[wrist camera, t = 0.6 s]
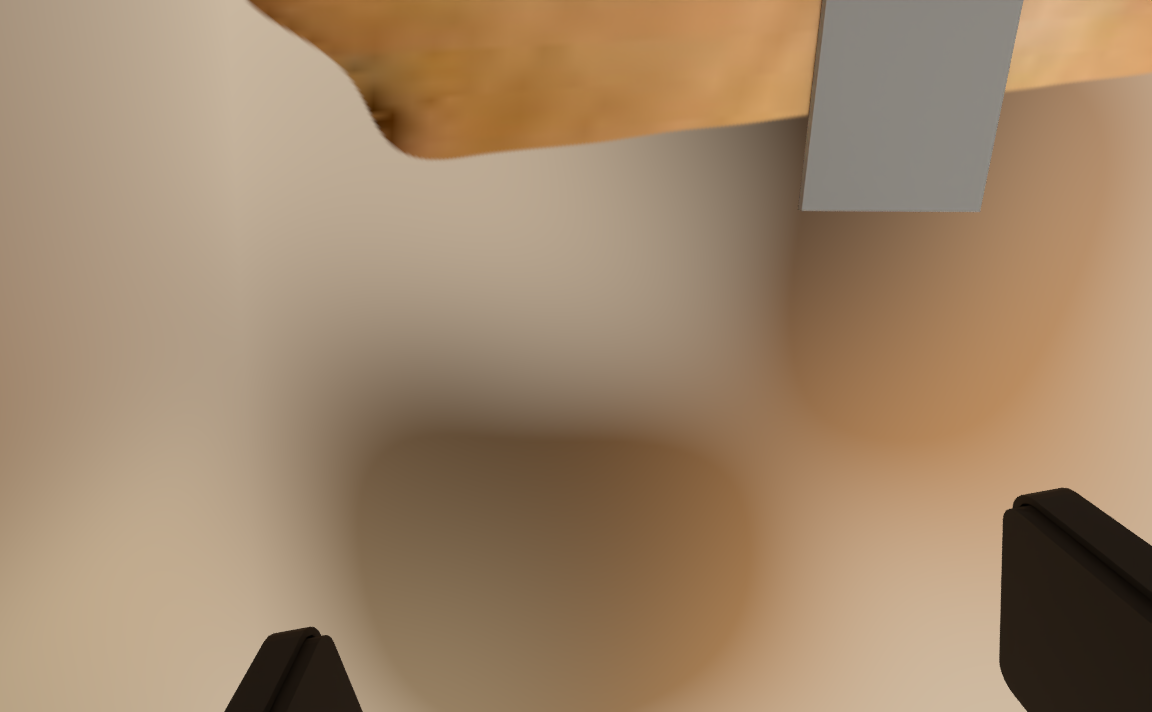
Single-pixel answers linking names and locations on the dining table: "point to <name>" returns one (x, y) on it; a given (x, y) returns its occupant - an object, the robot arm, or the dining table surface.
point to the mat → (906, 103)
